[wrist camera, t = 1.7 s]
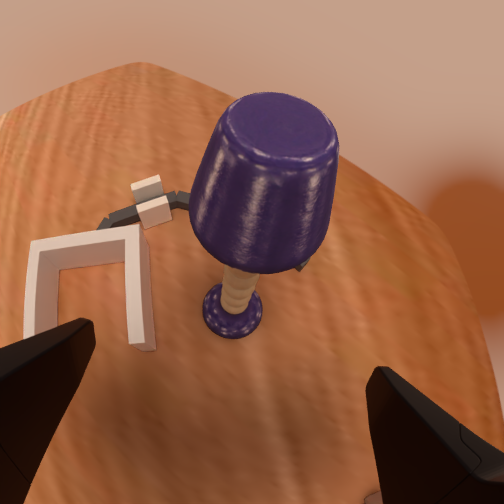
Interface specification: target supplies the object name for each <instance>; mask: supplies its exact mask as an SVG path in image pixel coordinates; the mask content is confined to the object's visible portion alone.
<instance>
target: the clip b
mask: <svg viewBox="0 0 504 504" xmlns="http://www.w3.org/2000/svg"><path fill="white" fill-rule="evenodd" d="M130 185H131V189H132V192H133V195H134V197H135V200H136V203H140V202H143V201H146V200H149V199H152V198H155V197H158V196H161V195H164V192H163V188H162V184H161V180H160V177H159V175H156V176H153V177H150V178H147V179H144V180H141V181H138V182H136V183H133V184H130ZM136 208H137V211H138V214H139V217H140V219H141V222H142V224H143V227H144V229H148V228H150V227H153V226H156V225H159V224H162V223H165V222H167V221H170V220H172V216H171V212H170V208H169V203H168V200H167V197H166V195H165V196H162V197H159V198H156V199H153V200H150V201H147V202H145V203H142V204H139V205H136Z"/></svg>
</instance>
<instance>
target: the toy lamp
mask: <svg viewBox="0 0 504 504" xmlns="http://www.w3.org/2000/svg"><path fill="white" fill-rule="evenodd" d="M338 160H339V142H338V137H337V132H336V130H335V128H334V126H333V124H332V122H331V121H330V120H329V119H328V117H327V116H326V115H325V114H324V113H323V112H322V111H321V110H319V109H318V108H317V107H315V106H313V105H312V104H310V103H309V102H307V101H305V100H303V99H301V98H298V97H295V96H292V95H288V94H284V93H276V92H261V93H254V94H250V95H247V96H244V97H242V98H240V99H238V100H236V101H235V102H233V103H232V104H231V105H230V106H229V107H228V108H227V109H226V110H225V111H224V113H223V114H222V116H221V117H220V119H219V120H218V122H217V124H216V127H215V129H214V131H213V134H212V136H211V139H210V141H209V143H208V146H207V148H206V151H205V153H204V156H203V158H202V161H201V164H200V166H199V169H198V171H197V174H196V177H195V180H194V183H193V186H192V189H191V193H190V198H189V216H190V222H191V225H192V228H193V231H194V233H195V235H196V237H197V238H198V240H199V241H200V243H201V244H202V246H203V247H204V248H205V249H206V250H207V251H208V253H210V254H211V255H212V256H213V257H214V258H216V259H217V260H219V261H220V262H221V263H223V264H225V266H224V276H223V281H222V282H221V283H219V284H217V285H215V286H214V287H213V288H212V289H211V290H210V291H209V292H208V293H207V295H206V297H205V299H204V302H203V317H204V320H205V322H206V324H207V326H208V327H209V328H210V329H211V330H212V331H213V332H214V333H216V334H218V335H219V336H221V337H224V338H229V339H239V338H242V337H245V336H247V335H249V334H250V333H252V332H253V331H254V330H255V329H256V328H257V326H258V325H259V323H260V321H261V317H262V311H263V310H262V303H261V300H260V297H259V295H258V294H257V292H256V291H255V290H254V289H255V286H256V283H257V281H258V279H259V277H260V274H273V273H279V272H282V271H287V270H290V269H292V268H295V267H296V266H298V265H300V264H302V263H303V262H305V261H306V260H307V259H308V258H310V257H311V256H312V255H313V254H314V253H315V252H316V250H317V249H318V248H319V246H320V245H321V243H322V241H323V240H324V238H325V235H326V232H327V229H328V226H329V221H330V215H331V209H332V203H333V197H334V190H335V183H336V175H337V168H338Z"/></svg>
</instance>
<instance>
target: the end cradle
mask: <svg viewBox="0 0 504 504" xmlns="http://www.w3.org/2000/svg"><path fill="white" fill-rule="evenodd" d="M119 262H125V285H126V309H127V326H128V339H129V344H130V345H132V346H134V347H135V348H137V349H139V350H141V351H155V350H157V349H156V340H155V330H154V320H153V308H152V294H151V278H150V258H149V246H148V243H147V241H146V239H145V237H144V234H143V232H142V230H141V227H140V225H139V224H137V225H130V226H123V227H116V228H109V229H102V230H95V231H89V232H82V233H76V234H70V235H64V236H58V237H52V238H46V239H40V240H35V241H31V245H30V252H29V260H28V268H27V278H26V289H25V304H24V339H26V338H28V337H31V336H34V335H36V334H39V333H42V332H44V331H47V330H49V329H52V328H55V327H57V326H58V285H59V270H63V269H71V268H79V267H87V266H95V265H103V264H111V263H119Z"/></svg>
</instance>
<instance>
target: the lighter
mask: <svg viewBox="0 0 504 504" xmlns="http://www.w3.org/2000/svg"><path fill="white" fill-rule="evenodd" d="M364 501H365V504H383V501H382V495H381V491H379V492H377V493H374V494H372V495H370V496H368V497H366V498H365V500H364Z"/></svg>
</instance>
